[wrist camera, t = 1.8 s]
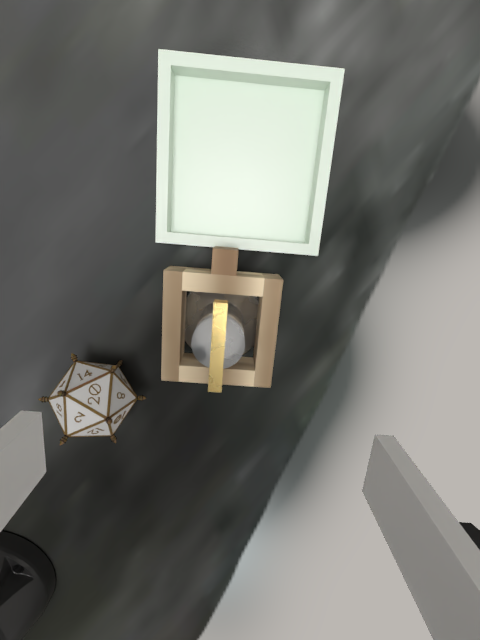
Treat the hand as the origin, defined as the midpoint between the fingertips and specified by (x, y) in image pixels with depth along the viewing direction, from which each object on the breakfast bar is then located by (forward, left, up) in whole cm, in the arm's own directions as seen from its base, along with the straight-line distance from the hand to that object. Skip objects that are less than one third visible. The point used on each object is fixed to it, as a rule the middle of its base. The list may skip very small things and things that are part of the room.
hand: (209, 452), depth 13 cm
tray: (+1, +14, -23) cm, 27 cm away
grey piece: (0, 0, -23) cm, 23 cm away
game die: (-12, -9, -23) cm, 27 cm away
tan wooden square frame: (0, 0, -18) cm, 18 cm away
